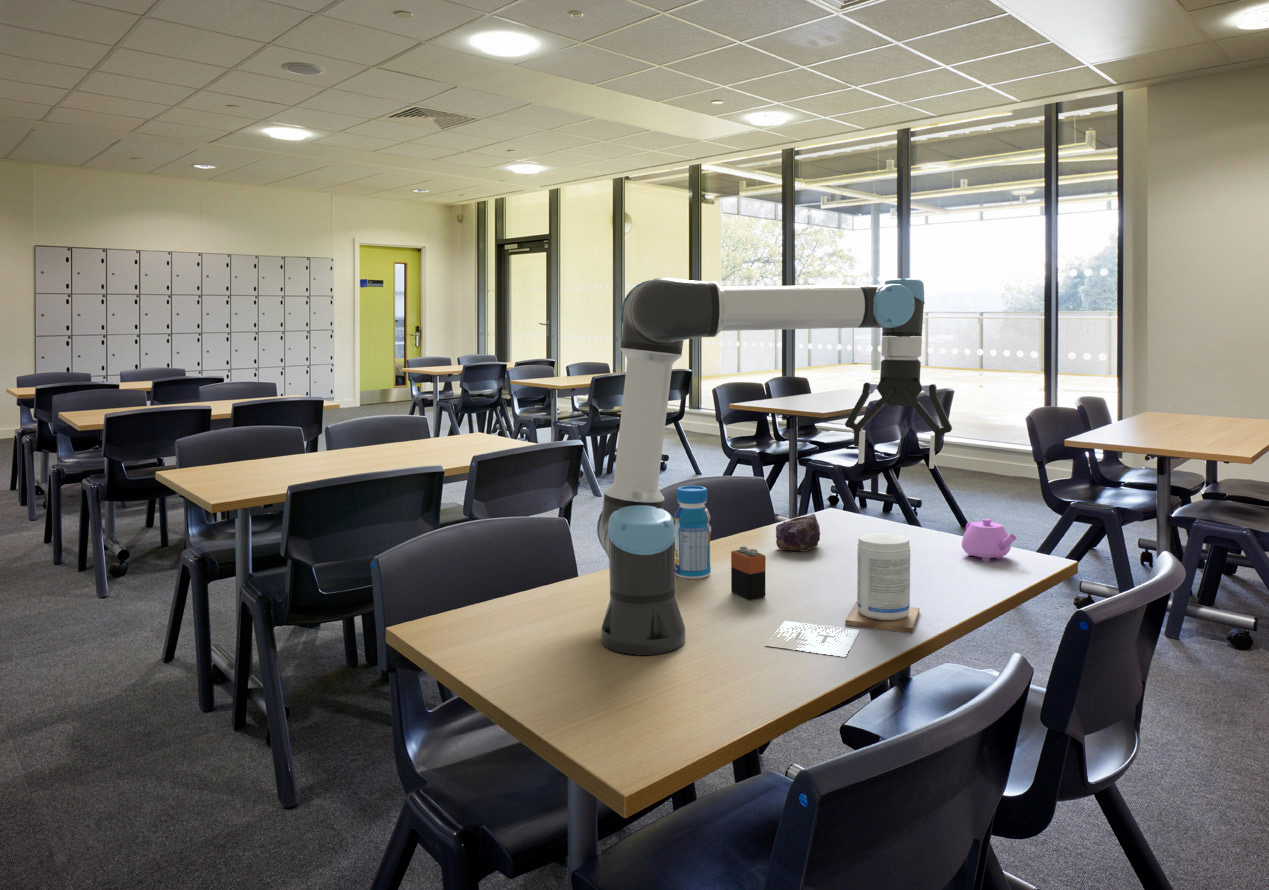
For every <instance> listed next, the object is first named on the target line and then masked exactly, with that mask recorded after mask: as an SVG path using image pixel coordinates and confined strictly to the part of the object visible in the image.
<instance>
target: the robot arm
mask: <svg viewBox="0 0 1269 890" xmlns="http://www.w3.org/2000/svg"><path fill="white" fill-rule="evenodd" d="M924 307H925V286H924V283H923V281H922V280H921V279H918V278H892V279H891V278H890V279H886V280H885V282H884V284H863V285H857V284H855V285H854V284H851V285H850V284H849V285H848V284H847V285H844V284H843V285H780V286H779V285H776V286H774V285H773V286H772V285H769V286H768V285H767V286H721V285H719V283H718V282H717V281H713V280H710V281H709V280H707V281H706V280H705V281H704V280H691V279H690V280H689V279H682V278H674V277H666V276H665V277H657V278H653V279H651V280H650V279H648V280H646V281H642V282H641V283H638V284H637V285H635V286H634V287H632V289H631V290H630V291H629V292H628V293H627V294H626V296H625V297H624V300H623V301H622V305H621V309H620V317H621V318H620V320H621V323H622V332H621V341H620V343H621V344H620V349H619V350H620V351H621V352H622V354H623V355H624V356H625V358H626V368H625V376H624V378H625V379H624V385H623V386H624V387H623V394H622V395H623V396H622V403H621V413H620V420H619V421H620V422H619V431H618V440H617V448H616V457H615V465H614V466H615V468H614V474H613V475H614V476H613V483H612V485H610V486H609V487H608V488H606V489H605V490H604V494H603V501H602V502H603V503H602V510H601V512H600V514H599V516H598V520H597V524H596V532H597V539H598V541H599V544H600V546H601V547H602V549H603V550H604V552H605V554H606V555H607V558H608V563H609V564H608V565H609V566H608V567H609V568H608V569H609V602H608V605H607V608H606V610H605V611H606V612H605V613H604V619H603V622H602V625H601V629H600V641H601V644H602V646H603V647H605V646H606V647H607V648H606V647H605V648H606V649H608V648H609V649H608V650H610V649H612V650H614V651H613V652H615V651H617V652H616V653H619V652H622V653H621V654H624V653H628V654H627V655H631V654H635V655H634V656H651V655H658V654H659V655H660V654H664V653H669V652H672V651H674V650H677V649H680V647H682V646H683V645H684V644H685V643H686V626H685V623H684V620H683V617H682V615H681V611H680V608H679V605H678V602H677V599H676V574H675V533H676V532H675V527H674V526H675V520H674V517H673V516H672V514H671V513H670V512H668V511H667V510H665V509H664V505H665V497H664V495H663V494H662V492H661V491H660V490H659V480H660V473H661V472H660V471H661V463H662V455H663V449H664V448H663V447H664V437H665V430H666V429H665V428H666V421H667V412H668V405H669V395H670V387H671V378H672V370H673V365H674V363H675V362H677V360H679V359H680V358H681V357H682V356H683V355H682V354H683V347H684V341H685V340H693V339H699V338H716V337H717V336H718V335H719V334H720V332H733V331H739V332H741V331H770V330H774V331H779V330H781V331H782V330H812V329H813V330H816V329H819V330H820V329H852V328H853V329H855V328H856V329H862V328H863V329H865V328H866V329H867V328H870V329H871V328H872V329H873V328H874V329H875V328H876V329H881V332H882V333H881V351H880V352H881V354H880V356H881V357H883V359H881V361H880V373H879V375H880V378H879V382H878V383H872V382H870V381H867V382H864V383H863V387H862V391H861V394H860V396H859V398H858V400H857V402H856V403H855V405H854V407H853V408H852V411H851V413H850V415H849V416H848V418H847V420H846V421H845V423H844V426H845V428H848V429H851V430H853V446H854V447H855V448H857V447H858V457H857V458H858V459H857V464H858V465H859V464H860V465H861V464H862V465H863V463H865V447H866V430H862V429H863V427H864V426H866V424H867V423H869V421H870V420H871V419H872V418H874V416H875V415H876V414H877V413H878V412H879V411H880V410H881V409H882V408H883V407H884V406H885V405H886V404H887V405H888V406H889V407H890V406H891V407H894V406H900V407H908V406H910V405H911V406H912V408H914V410H915V411H916V412H917V413H918V414H919V415H920V417H921V418H922V419H923V421H924V422H925V424H926V425H927V426H928V427H929V428H930V429H931V430H932V432H933V433H932V434H930V441H929V442H930V444H929V461H928V469H932V470H933V469H934V468H935V458H936V457H935V455H936V452H940V451H941V449H942V438H943V435H944V434H947V433H951V431H953V426H952V425H951V422H950V420H949V418H948V416H947V413H946V412H945V409H944V407H943V405H942V403H941V401H940V399H939V397H938V390H937V385H936V384H935V383H931V384H925V385H924V384H923V385H922V384H921V365H922V363H921V361H920V360H919V358H920V357H921V356H922V349H923V347H922V343H923V337H922V336H923V323H924V321H923V320H924ZM876 390H877V391H878V393H879V395H880V396H881V398H879V400H878V401H877V402H875V404H874V405H873V406H872V407H871V408H870V409H869V410H868V412H866V413H865V415H864V416H863V417H862V418H861V419H860V420H859V421H858V422H856V420H857V418H858V416H859V414H860V413H861V411H862V410H863V407H864V405H865V404H866V402H867V400H869V399H868V398H869V397H870V394H871V395H872V394H873V393H874V392H875V391H876ZM922 392H924V393H925V395H926V396H928V397H929V400H930V402H931V404H932V406H933V407H934V410H935V412H936V414H937V416H938V419H939V421H940V423H941V425H942V426H941V427H940V425H939V424H938V423H937V422H936V420H935V418H933V417H932V416H931V414H930V413H929V412H928V411H927V409H926V408H925V407H924V406H923V404H922V403H921V402H920V401H919V399H918V397H919V395H920V394H921V393H922ZM612 650H611V651H612Z"/></svg>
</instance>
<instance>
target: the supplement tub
mask: <svg viewBox="0 0 1269 890" xmlns="http://www.w3.org/2000/svg"><path fill="white" fill-rule="evenodd" d="M857 539H858V543H857V578H856V579H857V585H856V586H857V587H856V589H857V594H856V595H857V600H856V601H857V608H858V611H859V612H860V613H861V614H862V615H864V616H866V617H868V618H872V619H878V620H897V619H901V618H904V617H906V616H907V615H908V614H909V607H911V606H910V601H911V600H910V596H911V595H910V593H911V590H910V589H911V546H910V539H909V537H907V536H905V535H902V534H896V533H889V532H888V533H887V532H873V533H866V534H865V533H864V534H862V535H860V536H858V538H857Z"/></svg>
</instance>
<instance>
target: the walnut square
mask: <svg viewBox="0 0 1269 890" xmlns="http://www.w3.org/2000/svg"><path fill="white" fill-rule="evenodd" d="M919 615H920V607H915V606H910V607H909V614H908V615H907V616H906V617H904V618H901V619H897V620H878V619H872V618H868V617H866V616H864V615H862V614H861V613H860V612H859V611H858V608H857V600H856V601H855V603H854V604H853V606H852V607H851V610H850V611H849V613H848V614H847V616H846V618H845V621H844V623H845V626H849V625H853V626H852V627H857V626H860V627H859V628H865V627H867V628H866V629H873V628H876V629H875V630H881V629H883V630H882V631H891V632H898V631H900V632H899V633H906V632H909V633H908V634H914V629H915V626H916V624H917V621H918V618H919Z"/></svg>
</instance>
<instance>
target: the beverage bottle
mask: <svg viewBox="0 0 1269 890" xmlns="http://www.w3.org/2000/svg"><path fill="white" fill-rule="evenodd" d="M707 489H708V488H707V487H704V486H703V485H702V486H700V485H684V486H679V487H677V490H676V501H677V503H678V504H679V506H678V507H677V509H676V510H675V512H674V516H673V520H674V527H675V532H676V533H675V576H677V577H679V578H682V579H686V580H699V579H700V580H701V579H705V578H708V577H709V576H710V575H711V573H712V572H711V570H712V568H711V567H712V566H711V533H712V526H711V524H710V521H711V514H710V511H709V510H708V508H707V507H706V505H705V504H707V501H708V490H707Z"/></svg>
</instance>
